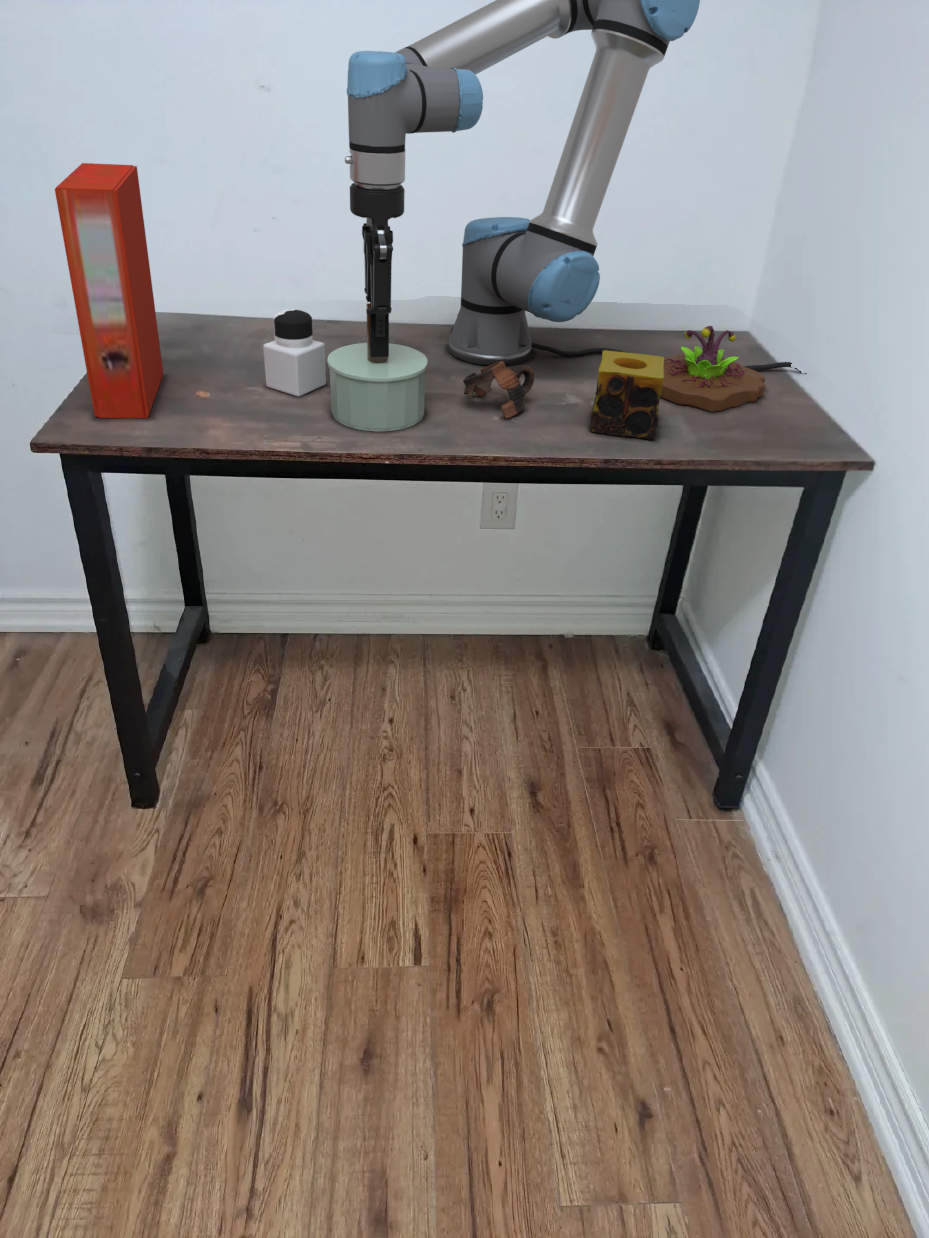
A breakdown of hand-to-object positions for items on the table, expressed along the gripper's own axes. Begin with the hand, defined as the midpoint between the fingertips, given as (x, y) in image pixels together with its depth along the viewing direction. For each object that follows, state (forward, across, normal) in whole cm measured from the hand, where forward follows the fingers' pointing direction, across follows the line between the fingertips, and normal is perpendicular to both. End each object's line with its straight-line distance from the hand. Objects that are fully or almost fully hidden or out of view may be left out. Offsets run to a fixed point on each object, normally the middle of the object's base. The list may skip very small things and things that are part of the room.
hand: (377, 351), depth 142 cm
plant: (+10, -6, +57) cm, 58 cm away
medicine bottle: (+10, -12, -12) cm, 20 cm away
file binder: (+10, -10, -38) cm, 40 cm away
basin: (+10, 0, 0) cm, 10 cm away
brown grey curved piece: (+10, -1, +20) cm, 22 cm away
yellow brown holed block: (+10, +8, +38) cm, 40 cm away
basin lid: (+2, 0, 0) cm, 2 cm away
